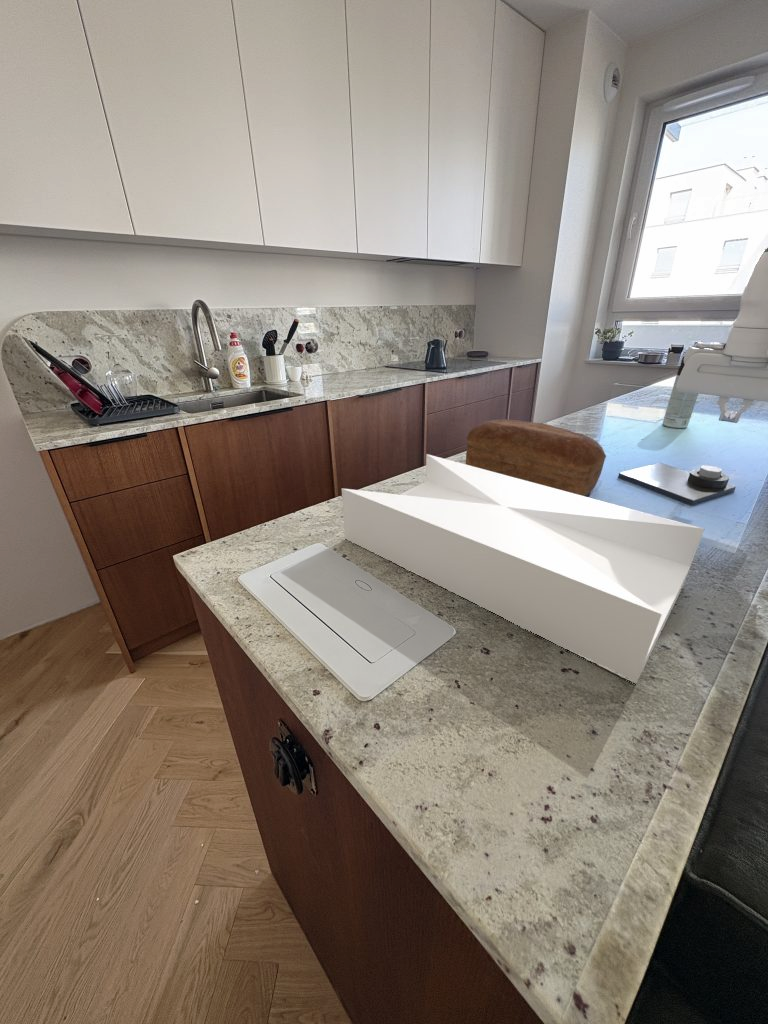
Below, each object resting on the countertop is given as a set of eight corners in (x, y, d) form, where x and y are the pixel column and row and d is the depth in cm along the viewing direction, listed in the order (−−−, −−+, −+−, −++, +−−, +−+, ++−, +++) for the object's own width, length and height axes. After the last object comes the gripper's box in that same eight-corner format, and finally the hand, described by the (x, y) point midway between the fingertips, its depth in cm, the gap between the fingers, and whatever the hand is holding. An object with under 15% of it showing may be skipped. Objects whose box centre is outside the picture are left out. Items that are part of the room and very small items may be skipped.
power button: (723, 477, 86) (726, 469, 85) (712, 480, 84) (715, 472, 84) (704, 472, 89) (707, 464, 88) (694, 475, 87) (697, 467, 87)
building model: (344, 539, 71) (341, 488, 67) (425, 497, 86) (426, 453, 81) (636, 685, 44) (661, 614, 39) (682, 587, 58) (705, 527, 54)
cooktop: (734, 492, 86) (740, 478, 84) (691, 506, 80) (696, 491, 79) (659, 467, 99) (663, 454, 97) (617, 477, 93) (620, 465, 92)
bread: (487, 458, 106) (492, 409, 100) (604, 488, 88) (618, 431, 83) (455, 473, 97) (459, 421, 91) (578, 510, 79) (591, 448, 74)
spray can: (685, 424, 130) (707, 356, 121) (689, 430, 125) (712, 359, 116) (660, 422, 133) (680, 355, 124) (663, 427, 127) (683, 358, 118)
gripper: (684, 342, 80) (663, 415, 86) (833, 350, 67) (795, 435, 73) (693, 340, 84) (672, 409, 90) (835, 347, 70) (799, 428, 77)
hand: (728, 421), depth 81 cm, fingers closed
